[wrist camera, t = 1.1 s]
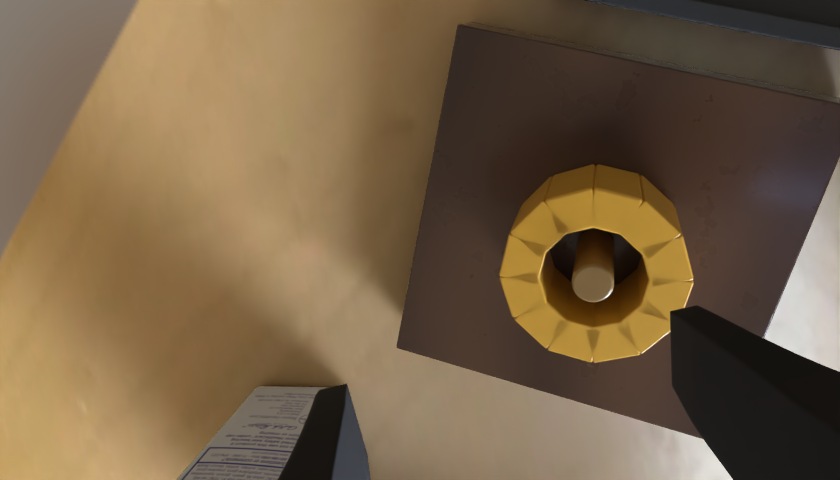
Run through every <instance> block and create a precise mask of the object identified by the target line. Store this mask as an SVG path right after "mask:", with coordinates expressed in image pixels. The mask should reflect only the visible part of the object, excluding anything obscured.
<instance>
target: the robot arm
mask: <svg viewBox="0 0 840 480" xmlns="http://www.w3.org/2000/svg"><path fill="white" fill-rule="evenodd" d="M670 335H671V372H672V387H673V388H674V390H675V392H676V394H677V396H678V398H679V400H680V402H681V404H682V406H683V407H684V409H685V411H686V413H687V415H688V416H689V418H690V420H691V422H692V423H693V425H694V426H695V428H696V429H697V431H698V432H699V433H700V435H701V436H702V438H703V439H704V440H705V442H706V443H707V444H708V446H709V447H710V449H711V450H712V451H713V453H714V454H715V455H716V457H717V458H718V460H719V461H720V462H721V464H722V465H723V466H724V468H725V469H726V470H727V472H728V473H729V474H730V476H731V477H732V478H733V480H840V372H838V371H836V370H833V369H830V368H828V367H826V366H823V365H821V364H818V363H816V362H814V361H811V360H809V359H807V358H804V357H802V356H800V355H797V354H795V353H793V352H791V351H789V350H787V349H784V348H782V347H780V346H778V345H776V344H774V343H772V342H770V341H768V340H766V339H764V338H762V337H760V336H758V335H756V334H754V333H752V332H750V331H748V330H746V329H744V328H742V327H740V326H738V325H736V324H734V323H732V322H730V321H728V320H726V319H724V318H722V317H720V316H718V315H717V314H715V313H713V312H711V311H708V310H706V309H704V308H702V307H700V306H698V305H695V306H691V307H686V308H682V309H677V310H673V311H670ZM277 480H370V472H369V464H368V456H367V452H366V449H365V445H364V442H363V438H362V435H361V431H360V428H359V424H358V421H357V417H356V414H355V410H354V407H353V403H352V400H351V396H350V393H349V389H348V386H347V384H343V385H339V386H334V387H330V388H325V389H321V390H319V391H318V392H317V394H316V395H315V398H314V401H313V404H312V406H311V409H310V412H309V414H308V417H307V419H306V422H305V424H304V426H303V429H302V431H301V433H300V436H299V438H298V440H297V442H296V444H295V446H294V448H293V450H292V453H291V455H290V457H289V459H288V461H287V463H286V465H285V467H284V469H283V470H282V472H281V474H280V476H279V478H278V479H277Z"/></svg>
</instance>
